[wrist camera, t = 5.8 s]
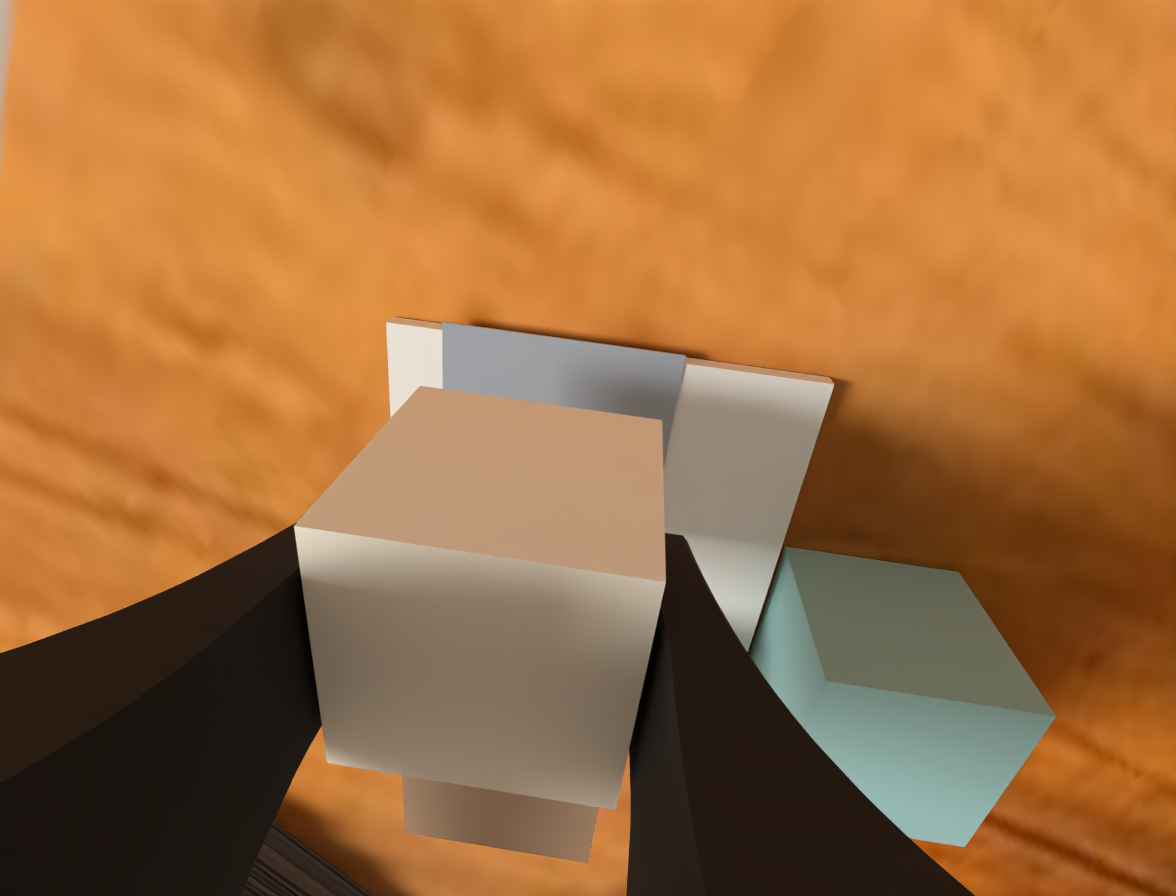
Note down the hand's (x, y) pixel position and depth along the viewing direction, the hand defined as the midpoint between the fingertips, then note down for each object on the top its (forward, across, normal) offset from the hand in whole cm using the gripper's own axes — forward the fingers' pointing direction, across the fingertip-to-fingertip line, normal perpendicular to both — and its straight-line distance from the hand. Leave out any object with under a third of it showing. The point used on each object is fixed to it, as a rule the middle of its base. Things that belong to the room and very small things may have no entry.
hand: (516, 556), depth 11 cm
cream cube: (+2, 0, 0) cm, 2 cm away
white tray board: (+5, -1, +4) cm, 6 cm away
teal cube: (+5, -8, +4) cm, 11 cm away
